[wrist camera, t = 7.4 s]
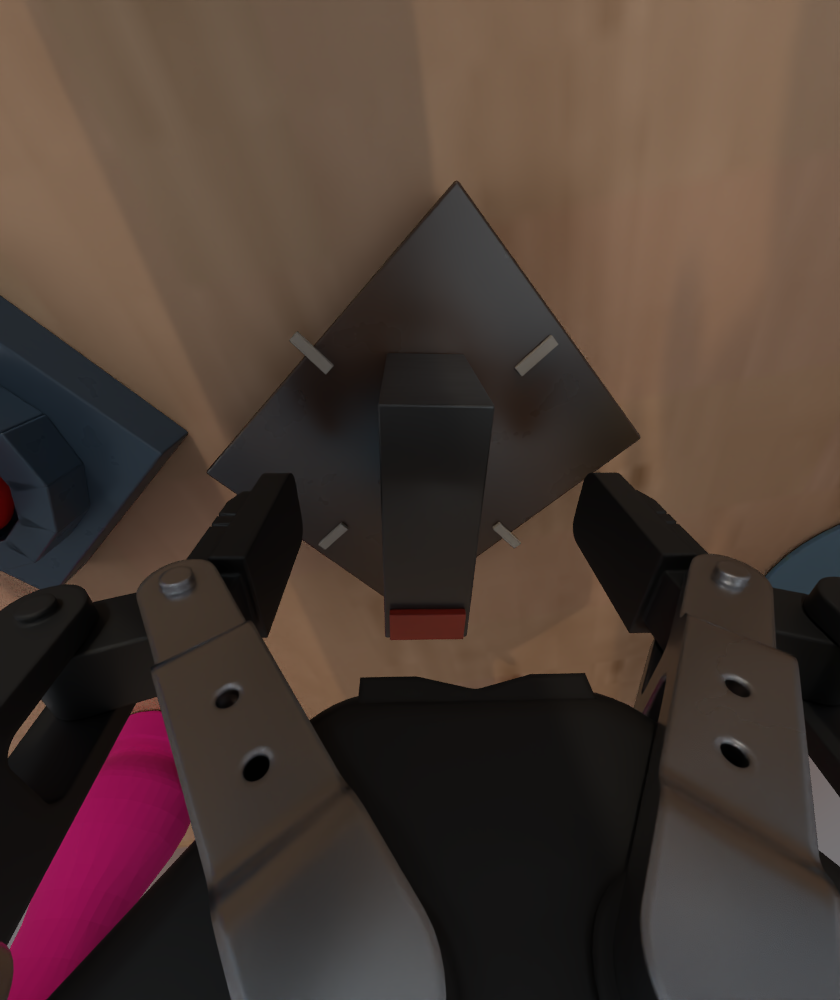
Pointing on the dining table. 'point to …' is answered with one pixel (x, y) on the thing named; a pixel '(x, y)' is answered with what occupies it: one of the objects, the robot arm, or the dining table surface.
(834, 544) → the cocktail glass
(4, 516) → the button
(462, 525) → the selector knob handle
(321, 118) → the dining table surface
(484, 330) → the switch base
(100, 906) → the pepper mill
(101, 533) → the button box
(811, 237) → the dining table surface
